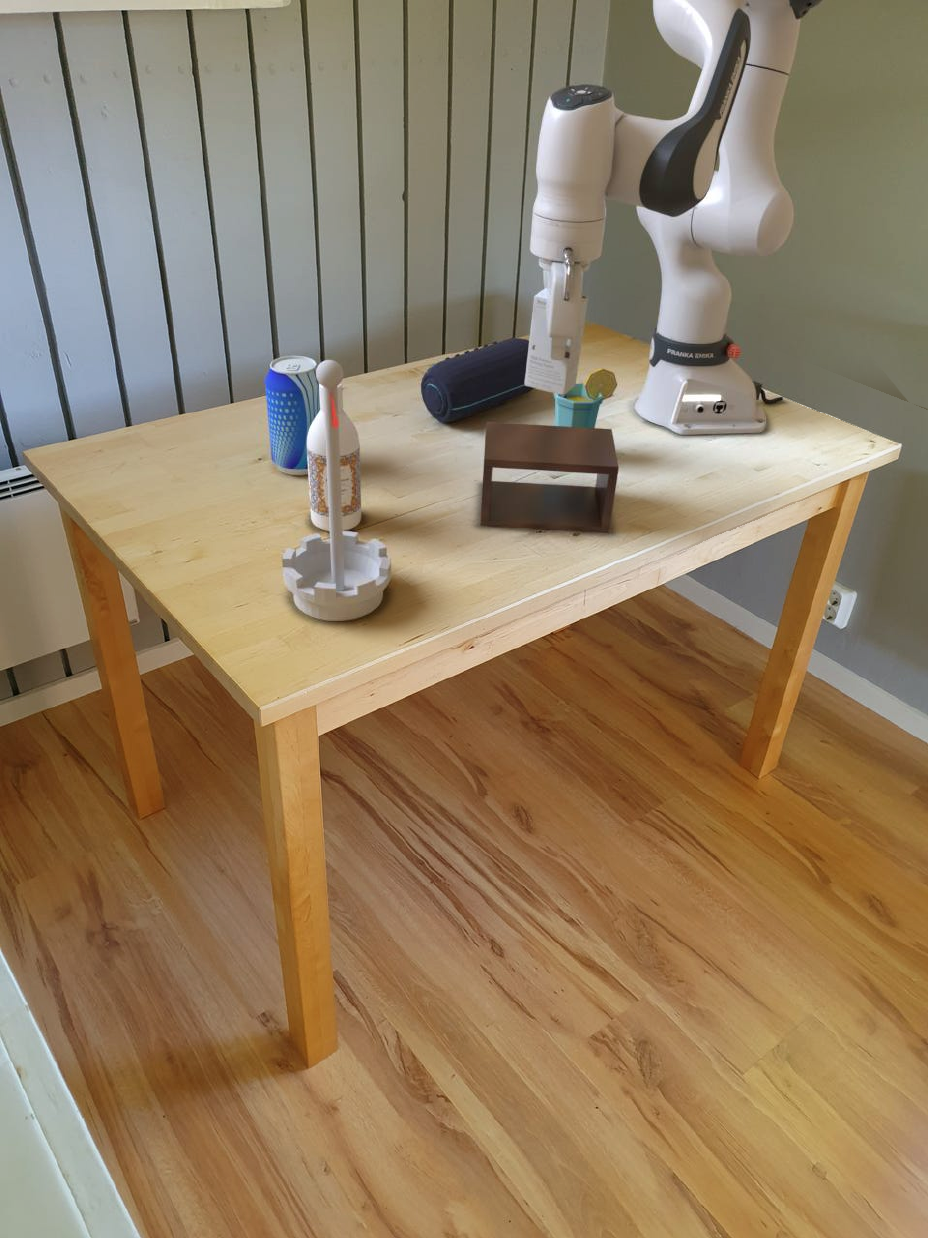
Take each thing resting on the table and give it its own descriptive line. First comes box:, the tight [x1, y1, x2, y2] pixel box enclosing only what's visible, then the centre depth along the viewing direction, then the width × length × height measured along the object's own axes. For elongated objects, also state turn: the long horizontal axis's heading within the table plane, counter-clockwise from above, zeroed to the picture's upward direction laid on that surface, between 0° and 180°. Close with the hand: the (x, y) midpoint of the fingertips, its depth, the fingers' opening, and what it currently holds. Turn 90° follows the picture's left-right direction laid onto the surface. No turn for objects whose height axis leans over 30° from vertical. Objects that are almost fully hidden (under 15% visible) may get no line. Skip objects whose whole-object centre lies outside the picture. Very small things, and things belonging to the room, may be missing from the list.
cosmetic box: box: [524, 288, 589, 395], centre depth 125 cm, size 6×4×12 cm
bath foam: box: [307, 382, 362, 532], centre depth 128 cm, size 7×7×20 cm
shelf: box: [479, 421, 620, 534], centre depth 136 cm, size 18×12×10 cm, turn 87°
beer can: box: [264, 355, 320, 476], centre depth 142 cm, size 8×8×16 cm
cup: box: [553, 367, 618, 428], centre depth 148 cm, size 14×8×15 cm, turn 119°
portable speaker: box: [420, 337, 536, 423], centre depth 164 cm, size 25×10×10 cm, turn 136°
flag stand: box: [281, 359, 392, 622], centre depth 110 cm, size 13×13×30 cm
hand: (555, 348), depth 125 cm, fingers closed on cosmetic box, 5 cm apart
